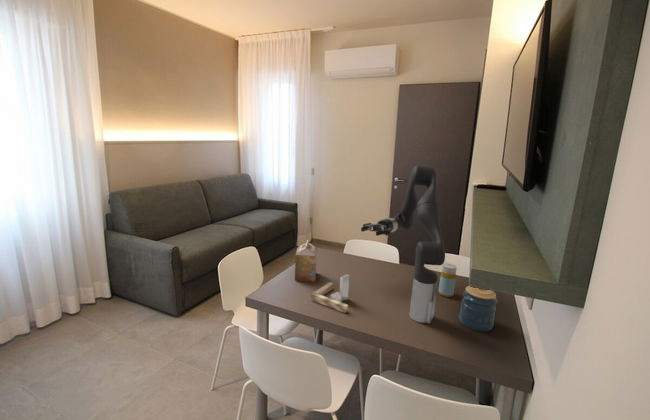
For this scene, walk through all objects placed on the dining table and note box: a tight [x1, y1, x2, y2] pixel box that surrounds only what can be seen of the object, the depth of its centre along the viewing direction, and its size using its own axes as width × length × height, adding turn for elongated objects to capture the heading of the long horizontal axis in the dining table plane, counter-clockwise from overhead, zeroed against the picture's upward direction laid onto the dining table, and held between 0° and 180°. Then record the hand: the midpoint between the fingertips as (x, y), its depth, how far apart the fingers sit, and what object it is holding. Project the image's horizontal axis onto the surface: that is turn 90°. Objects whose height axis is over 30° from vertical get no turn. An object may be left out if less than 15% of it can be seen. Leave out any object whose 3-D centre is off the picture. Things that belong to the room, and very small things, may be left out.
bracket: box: [329, 273, 350, 303], centre depth 143 cm, size 7×5×12 cm
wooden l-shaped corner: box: [310, 281, 349, 314], centre depth 143 cm, size 18×16×3 cm
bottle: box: [438, 262, 457, 298], centre depth 152 cm, size 7×7×15 cm
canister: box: [458, 285, 499, 332], centre depth 128 cm, size 13×13×18 cm
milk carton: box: [294, 239, 318, 282], centre depth 164 cm, size 11×11×19 cm
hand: (369, 231), depth 148 cm, fingers open, 8 cm apart
